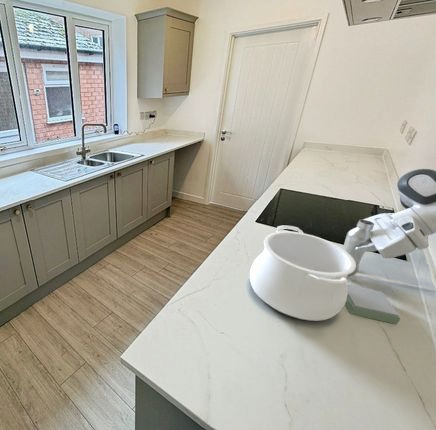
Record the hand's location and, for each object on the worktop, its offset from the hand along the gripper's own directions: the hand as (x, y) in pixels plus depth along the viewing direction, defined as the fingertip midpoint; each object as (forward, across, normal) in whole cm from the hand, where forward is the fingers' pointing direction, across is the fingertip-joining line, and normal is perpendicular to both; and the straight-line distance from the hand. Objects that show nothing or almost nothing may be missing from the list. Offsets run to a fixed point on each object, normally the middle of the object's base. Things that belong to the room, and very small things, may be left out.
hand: (353, 244), depth 86 cm
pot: (+20, +20, -4) cm, 29 cm away
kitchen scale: (+6, +16, +10) cm, 20 cm away
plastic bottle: (+8, 0, +9) cm, 12 cm away
